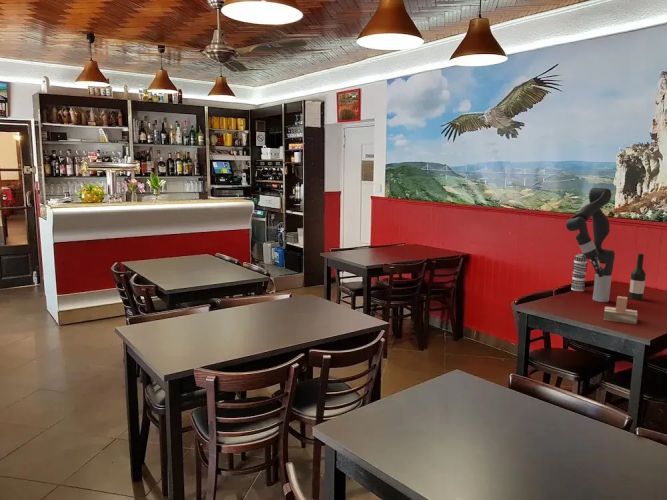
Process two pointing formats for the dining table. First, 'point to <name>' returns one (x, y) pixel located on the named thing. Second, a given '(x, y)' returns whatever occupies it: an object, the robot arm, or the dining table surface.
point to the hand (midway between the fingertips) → (601, 274)
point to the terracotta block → (621, 304)
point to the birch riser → (620, 315)
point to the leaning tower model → (579, 273)
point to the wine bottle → (637, 280)
